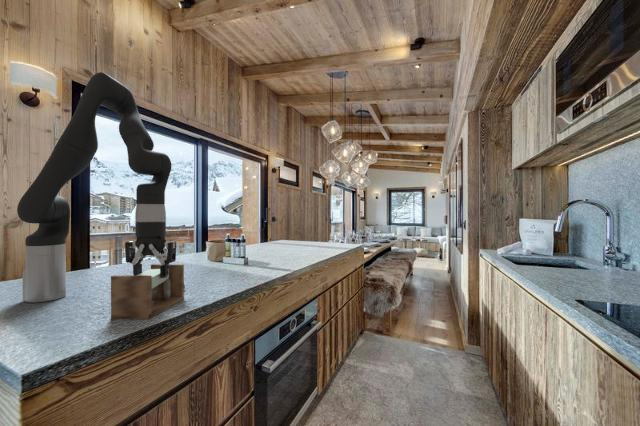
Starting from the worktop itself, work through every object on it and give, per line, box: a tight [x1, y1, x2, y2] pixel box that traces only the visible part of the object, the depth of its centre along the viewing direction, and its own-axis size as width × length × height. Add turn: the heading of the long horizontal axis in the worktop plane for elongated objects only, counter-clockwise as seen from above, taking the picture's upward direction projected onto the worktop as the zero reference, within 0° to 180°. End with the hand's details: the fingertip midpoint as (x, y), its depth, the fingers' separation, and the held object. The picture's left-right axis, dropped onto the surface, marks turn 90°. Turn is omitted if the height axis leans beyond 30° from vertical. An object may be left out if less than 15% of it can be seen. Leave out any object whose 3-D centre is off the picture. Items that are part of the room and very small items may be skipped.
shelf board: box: [136, 268, 169, 288], centre depth 81 cm, size 6×12×3 cm, turn 9°
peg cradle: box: [110, 263, 185, 320], centre depth 81 cm, size 10×17×11 cm, turn 178°
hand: (151, 277), depth 81 cm, fingers open, 7 cm apart
